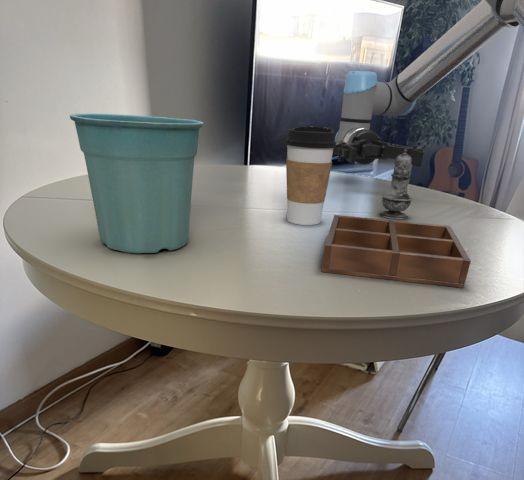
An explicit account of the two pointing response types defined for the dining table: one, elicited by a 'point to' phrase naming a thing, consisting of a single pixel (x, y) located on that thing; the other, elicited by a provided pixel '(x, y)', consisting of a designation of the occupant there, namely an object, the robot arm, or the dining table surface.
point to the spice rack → (395, 251)
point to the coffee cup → (308, 172)
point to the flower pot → (139, 178)
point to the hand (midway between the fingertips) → (387, 157)
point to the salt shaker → (398, 189)
